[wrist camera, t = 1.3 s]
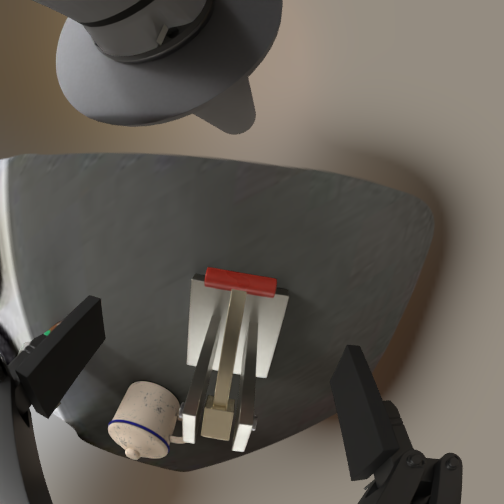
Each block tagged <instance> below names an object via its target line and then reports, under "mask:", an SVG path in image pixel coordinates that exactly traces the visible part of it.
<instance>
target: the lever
mask: <svg viewBox="0 0 504 504" xmlns="http://www.w3.org/2000/svg"><path fill="white" fill-rule="evenodd" d="M204 285H205V287H209V288H215V289H220V290H226V291H231V295H230V301H229V307H228V313H227V319H226V325H225V331H224V337H223V343H222V349H221V356H220V362H219V368H218V375H217V381H216V387H215V394H214V396H210V395H208V397H207V401H206V404H205V407H204V414H203V421H202V429H201V436H205V437H210V438H216V439H222V440H229V437H230V432H231V426H232V421H233V416H234V406H235V400H233V399H229V394H230V388H231V382H232V376H233V371H234V365H235V359H236V353H237V348H238V342H239V336H240V330H241V324H242V318H243V313H244V307H245V301H246V295H247V294H249V295H255V296H261V297H267V298H274V296H275V292H276V287H277V279H275V278H269V277H263V276H257V275H251V274H246V273H240V272H234V271H228V270H223V269H217V268H211V267H208V268H207V271H206V275H205V281H204Z"/></svg>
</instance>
